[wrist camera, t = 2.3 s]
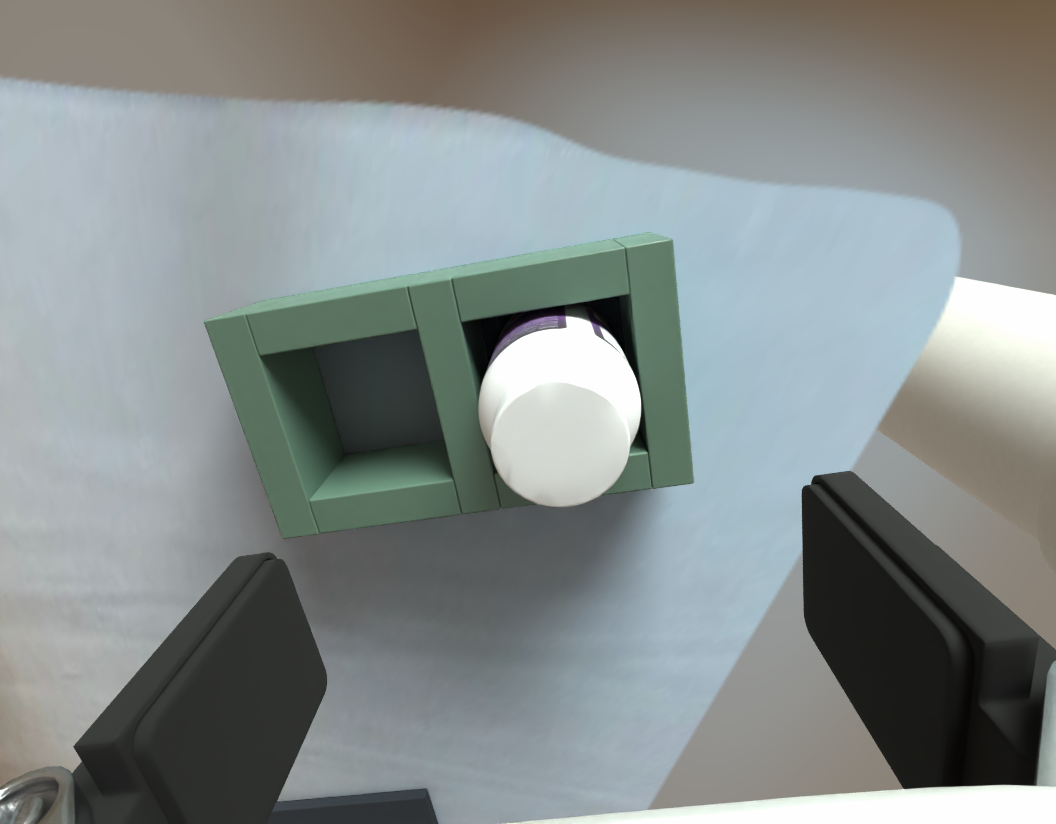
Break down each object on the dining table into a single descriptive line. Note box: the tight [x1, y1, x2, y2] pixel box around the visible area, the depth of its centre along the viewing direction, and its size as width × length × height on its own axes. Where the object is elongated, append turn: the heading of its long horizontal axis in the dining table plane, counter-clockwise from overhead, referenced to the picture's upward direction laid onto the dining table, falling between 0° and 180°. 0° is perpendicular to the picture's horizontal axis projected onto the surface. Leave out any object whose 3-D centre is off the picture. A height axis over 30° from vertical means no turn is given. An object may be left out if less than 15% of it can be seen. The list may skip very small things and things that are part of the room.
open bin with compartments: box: [204, 232, 694, 539], centre depth 24 cm, size 17×9×4 cm, turn 100°
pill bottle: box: [478, 303, 641, 507], centre depth 21 cm, size 5×5×10 cm
